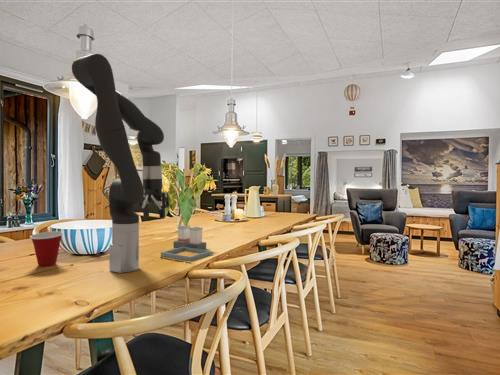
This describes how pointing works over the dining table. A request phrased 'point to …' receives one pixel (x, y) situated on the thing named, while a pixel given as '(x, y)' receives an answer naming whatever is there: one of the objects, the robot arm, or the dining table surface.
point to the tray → (187, 258)
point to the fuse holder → (190, 245)
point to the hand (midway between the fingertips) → (154, 217)
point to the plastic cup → (46, 247)
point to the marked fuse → (183, 233)
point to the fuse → (196, 235)
